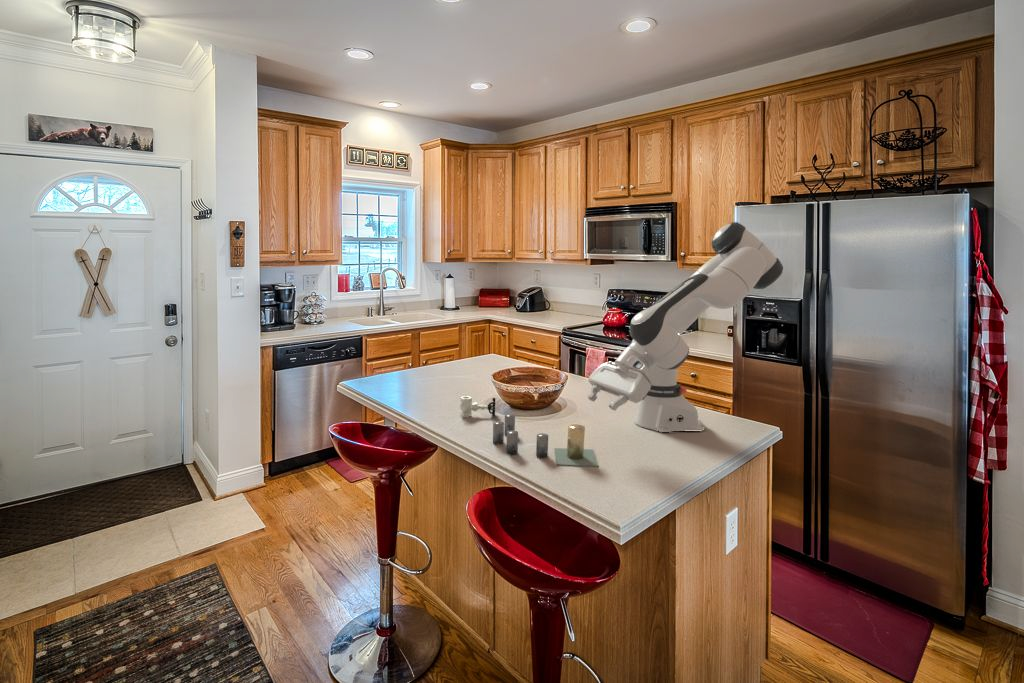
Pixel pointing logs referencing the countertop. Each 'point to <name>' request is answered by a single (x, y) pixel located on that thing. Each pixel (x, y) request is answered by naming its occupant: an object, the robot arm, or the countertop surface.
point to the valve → (474, 406)
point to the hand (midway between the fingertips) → (600, 404)
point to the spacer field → (516, 437)
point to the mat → (585, 461)
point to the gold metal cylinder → (575, 441)
